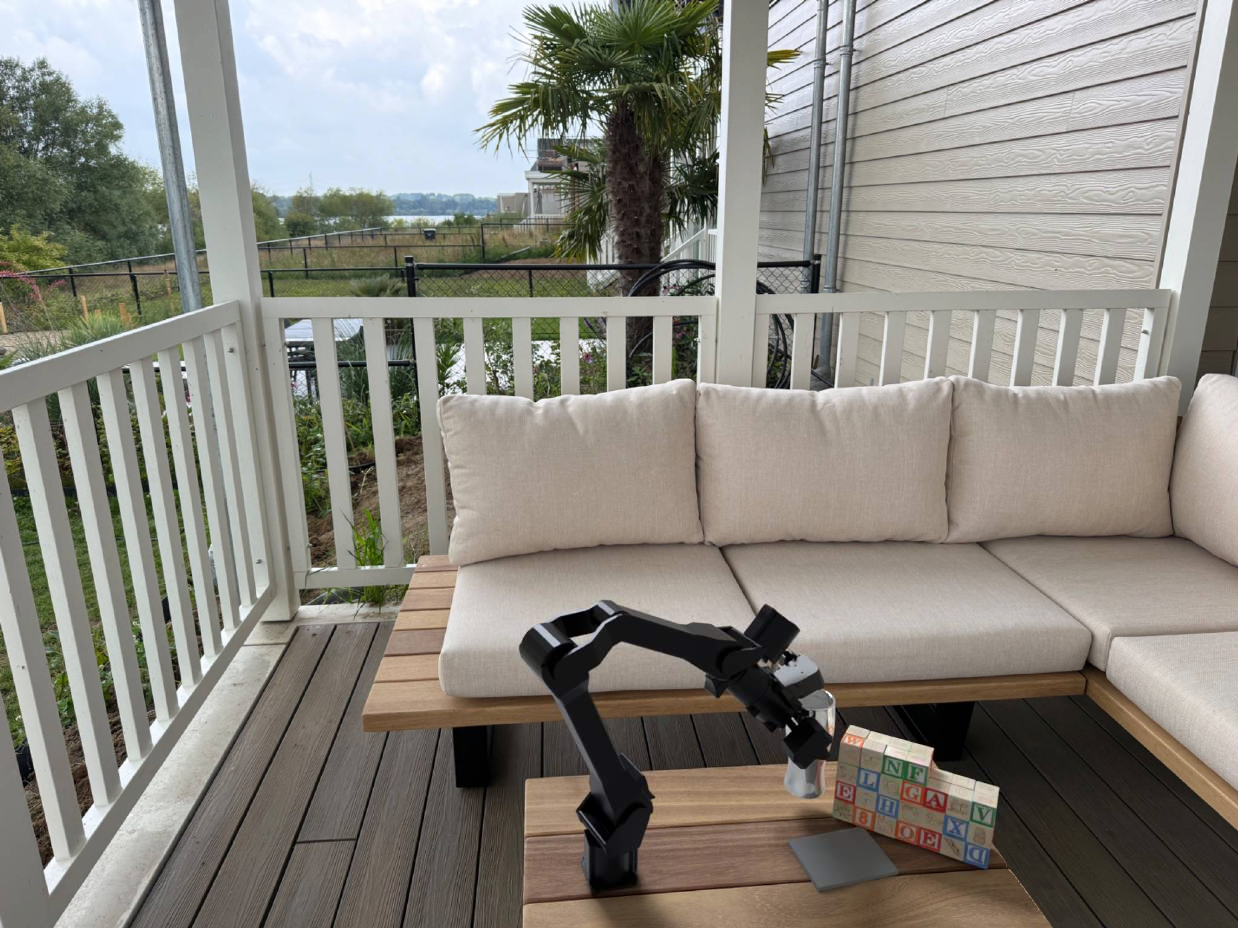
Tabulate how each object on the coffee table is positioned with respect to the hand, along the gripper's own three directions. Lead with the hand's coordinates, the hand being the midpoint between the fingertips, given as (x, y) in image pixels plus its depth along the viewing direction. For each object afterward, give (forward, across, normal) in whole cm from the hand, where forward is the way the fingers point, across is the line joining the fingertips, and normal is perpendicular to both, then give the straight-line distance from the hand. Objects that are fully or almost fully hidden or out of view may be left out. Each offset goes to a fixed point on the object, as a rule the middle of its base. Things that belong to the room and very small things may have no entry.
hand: (816, 743), depth 120 cm
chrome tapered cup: (+4, 0, +6) cm, 7 cm away
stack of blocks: (+15, -9, 0) cm, 18 cm away
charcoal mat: (+7, -11, +8) cm, 15 cm away
